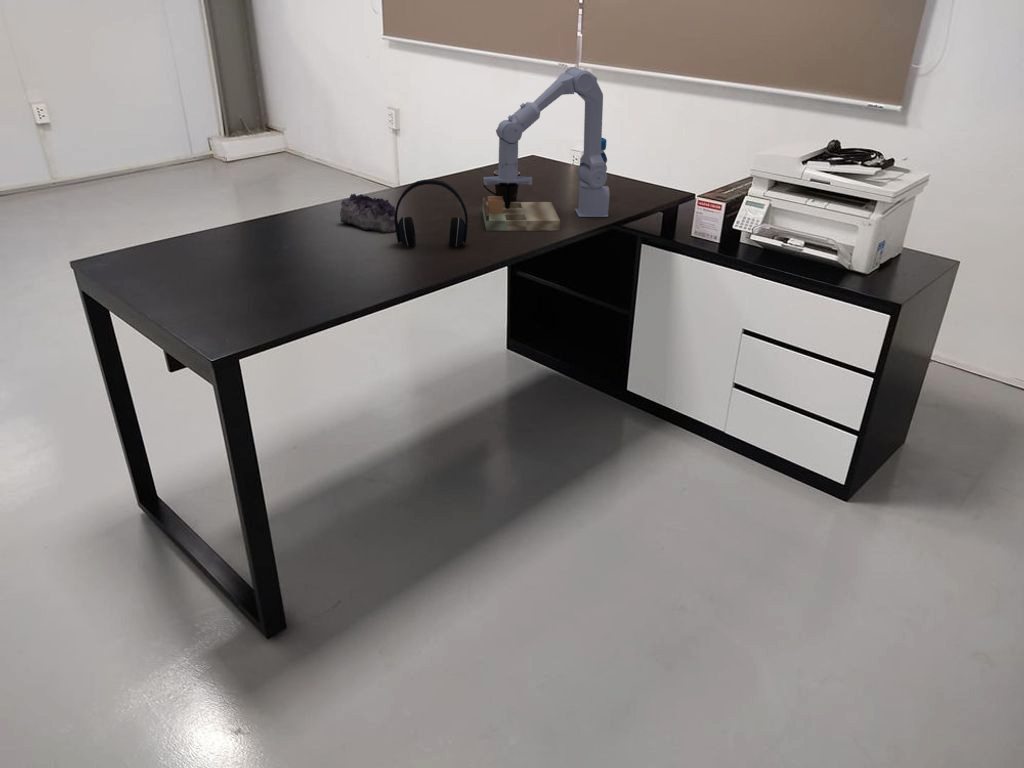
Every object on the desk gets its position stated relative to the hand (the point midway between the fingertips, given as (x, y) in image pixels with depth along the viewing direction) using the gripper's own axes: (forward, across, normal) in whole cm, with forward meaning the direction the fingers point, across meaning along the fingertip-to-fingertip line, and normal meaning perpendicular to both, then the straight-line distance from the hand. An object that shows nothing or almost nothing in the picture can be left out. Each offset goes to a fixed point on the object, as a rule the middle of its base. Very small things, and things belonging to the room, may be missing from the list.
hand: (507, 207), depth 236 cm
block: (+1, +4, 0) cm, 4 cm away
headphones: (+4, +23, +23) cm, 33 cm away
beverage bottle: (+4, -31, -24) cm, 39 cm away
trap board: (+4, -4, 0) cm, 6 cm away
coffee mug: (+4, 0, -20) cm, 20 cm away
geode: (+4, +41, +4) cm, 41 cm away
